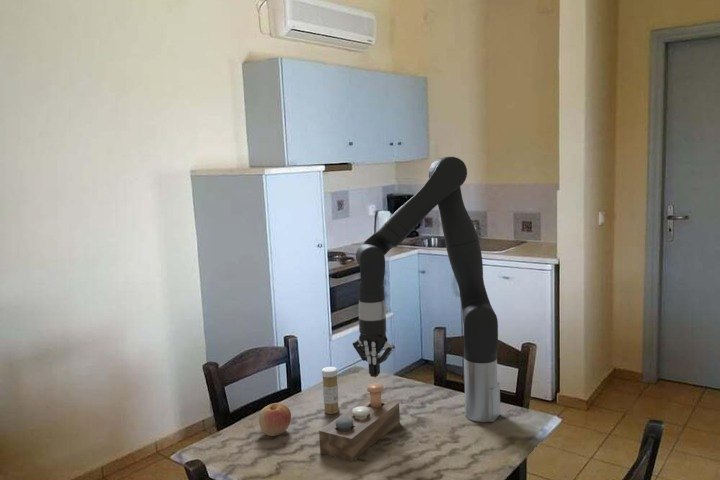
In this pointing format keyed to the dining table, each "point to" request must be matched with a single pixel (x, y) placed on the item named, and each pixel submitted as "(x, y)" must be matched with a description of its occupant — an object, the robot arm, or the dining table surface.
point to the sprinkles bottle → (330, 390)
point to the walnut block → (359, 430)
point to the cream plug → (360, 412)
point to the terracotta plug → (375, 395)
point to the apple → (274, 419)
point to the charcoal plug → (344, 424)
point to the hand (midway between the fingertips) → (374, 375)
